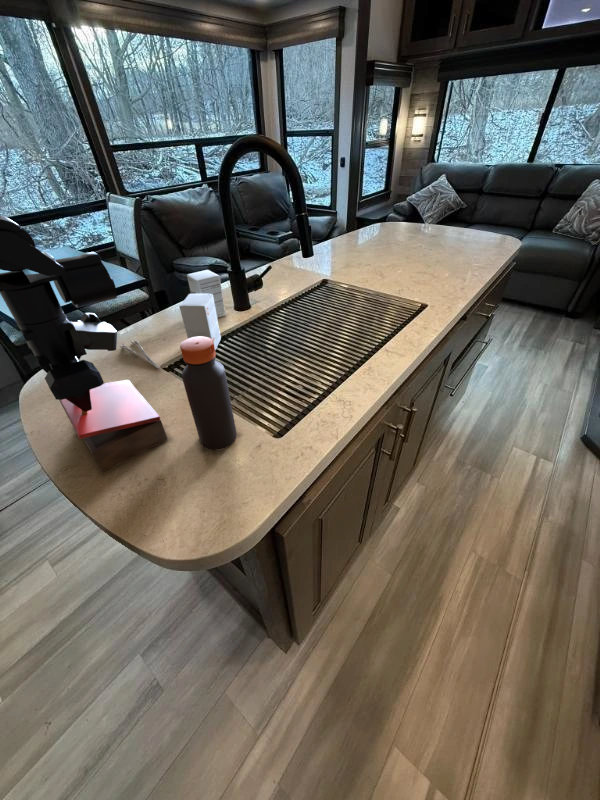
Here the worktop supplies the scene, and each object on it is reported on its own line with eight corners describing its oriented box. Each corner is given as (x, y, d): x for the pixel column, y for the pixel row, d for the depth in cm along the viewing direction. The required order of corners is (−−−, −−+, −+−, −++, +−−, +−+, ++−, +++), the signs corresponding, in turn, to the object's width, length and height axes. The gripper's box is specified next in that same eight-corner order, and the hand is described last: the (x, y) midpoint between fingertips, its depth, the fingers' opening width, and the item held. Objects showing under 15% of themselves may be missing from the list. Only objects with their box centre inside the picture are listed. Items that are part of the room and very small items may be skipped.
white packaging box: (194, 314, 106) (185, 274, 98) (215, 308, 109) (208, 268, 102) (205, 322, 101) (196, 280, 93) (226, 315, 105) (220, 274, 97)
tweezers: (119, 348, 89) (117, 342, 88) (136, 342, 92) (134, 336, 90) (152, 377, 80) (150, 370, 79) (169, 369, 83) (168, 363, 82)
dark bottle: (200, 454, 59) (171, 357, 46) (200, 429, 64) (174, 335, 52) (238, 447, 60) (220, 351, 48) (235, 423, 65) (218, 330, 53)
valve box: (103, 472, 56) (91, 453, 53) (77, 426, 65) (66, 407, 62) (168, 439, 62) (161, 420, 59) (136, 401, 71) (129, 382, 68)
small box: (199, 338, 93) (188, 293, 85) (221, 338, 93) (213, 293, 85) (190, 353, 87) (178, 305, 79) (214, 353, 86) (204, 305, 78)
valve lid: (79, 439, 51) (75, 409, 48) (55, 393, 60) (51, 366, 57) (160, 420, 59) (160, 393, 56) (128, 382, 68) (127, 358, 66)
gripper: (122, 321, 45) (152, 409, 55) (83, 286, 56) (114, 364, 66) (26, 347, 40) (79, 440, 49) (4, 302, 51) (51, 386, 60)
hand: (84, 402), depth 56 cm, fingers closed on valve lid, 5 cm apart
